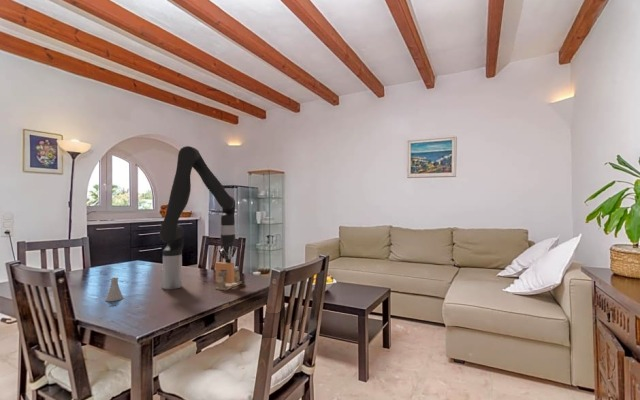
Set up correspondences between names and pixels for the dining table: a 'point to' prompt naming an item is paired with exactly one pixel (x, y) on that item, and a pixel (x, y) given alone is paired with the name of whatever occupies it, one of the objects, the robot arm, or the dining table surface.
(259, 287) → the dining table surface
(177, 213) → the robot arm
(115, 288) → the flask
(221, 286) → the pipe stand
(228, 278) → the orange square plate
